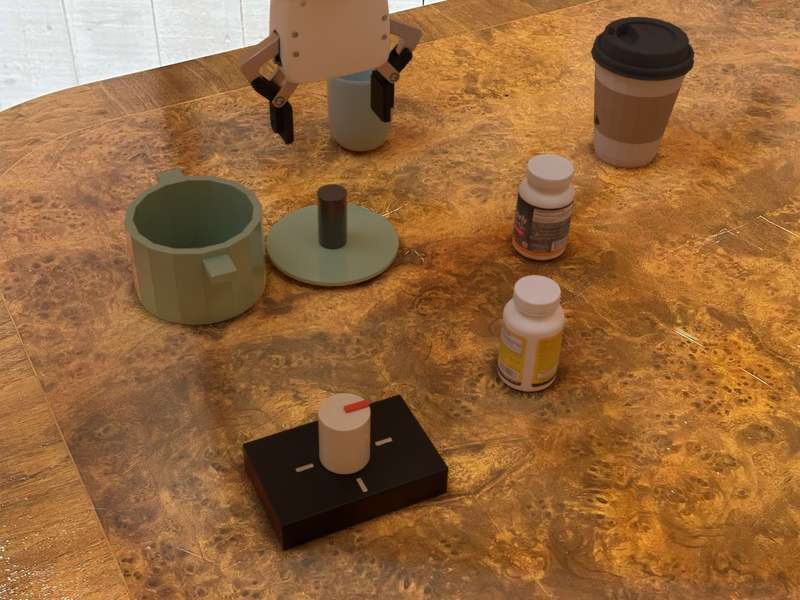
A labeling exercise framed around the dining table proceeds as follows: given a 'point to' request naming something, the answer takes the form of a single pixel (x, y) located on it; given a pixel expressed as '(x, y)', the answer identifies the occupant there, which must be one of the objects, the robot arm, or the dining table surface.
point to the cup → (355, 113)
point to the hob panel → (343, 475)
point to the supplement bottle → (531, 334)
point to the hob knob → (344, 433)
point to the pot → (196, 248)
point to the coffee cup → (636, 87)
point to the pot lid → (332, 241)
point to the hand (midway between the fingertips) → (333, 126)
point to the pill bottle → (544, 207)
